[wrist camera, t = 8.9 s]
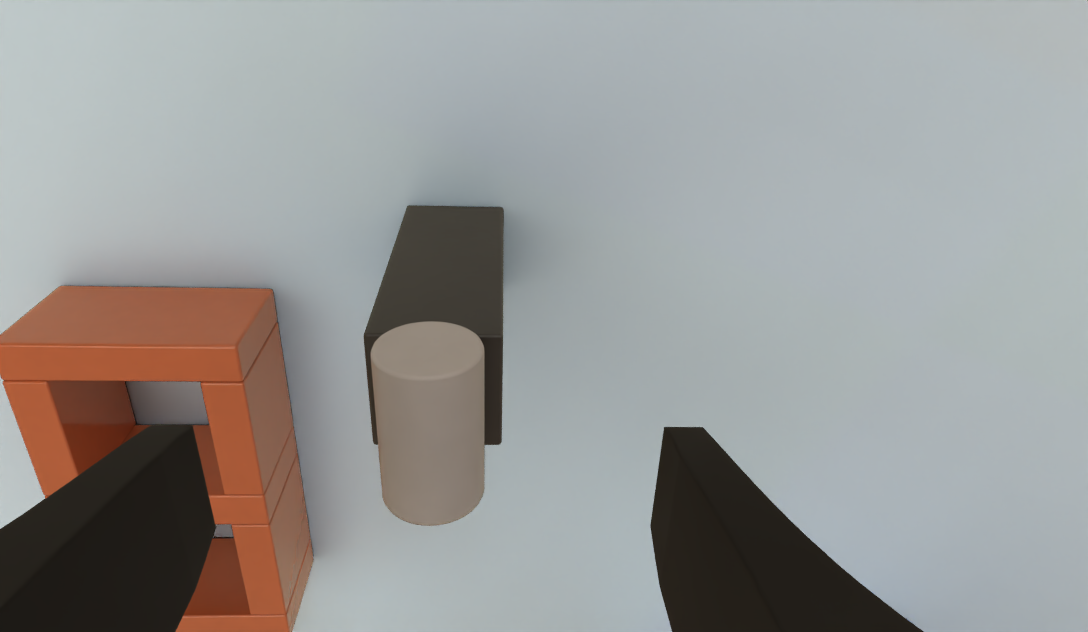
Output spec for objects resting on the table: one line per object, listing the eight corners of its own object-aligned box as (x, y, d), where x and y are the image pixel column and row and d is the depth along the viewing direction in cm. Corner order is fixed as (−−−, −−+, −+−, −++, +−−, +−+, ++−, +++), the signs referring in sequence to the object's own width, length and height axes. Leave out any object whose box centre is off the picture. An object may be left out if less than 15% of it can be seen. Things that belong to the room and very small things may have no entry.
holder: (314, 559, 24) (290, 639, 21) (142, 561, 24) (96, 642, 21) (273, 287, 19) (236, 346, 17) (59, 284, 19) (-14, 343, 16)
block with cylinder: (502, 302, 20) (500, 527, 12) (412, 301, 20) (357, 527, 12) (503, 195, 18) (502, 378, 11) (406, 192, 18) (339, 376, 11)
